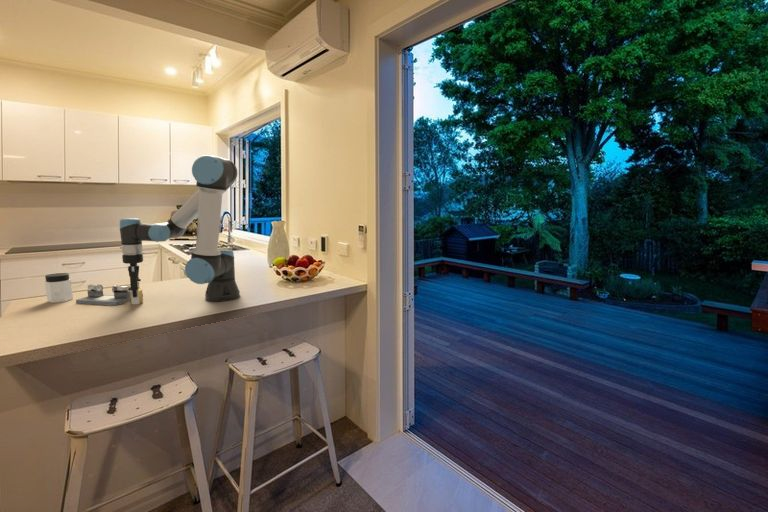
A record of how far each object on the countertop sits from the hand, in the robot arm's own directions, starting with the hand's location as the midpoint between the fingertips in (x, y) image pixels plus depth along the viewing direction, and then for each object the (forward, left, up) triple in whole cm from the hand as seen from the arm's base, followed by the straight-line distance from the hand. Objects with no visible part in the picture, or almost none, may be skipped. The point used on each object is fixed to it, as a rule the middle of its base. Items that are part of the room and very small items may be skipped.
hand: (136, 300), depth 167 cm
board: (+16, 0, -1) cm, 16 cm away
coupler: (0, 0, -1) cm, 1 cm away
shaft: (+23, -2, 0) cm, 23 cm away
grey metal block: (+9, -2, 0) cm, 9 cm away
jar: (+37, +2, -2) cm, 37 cm away
